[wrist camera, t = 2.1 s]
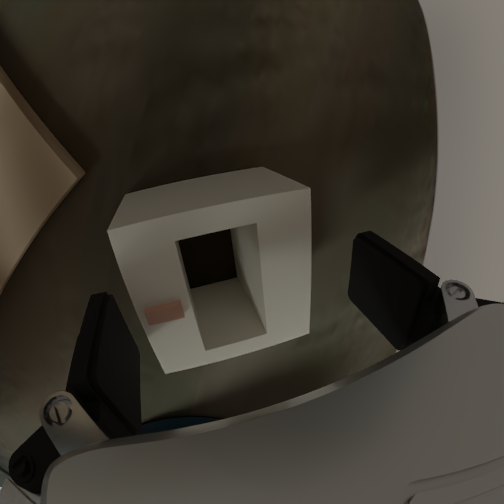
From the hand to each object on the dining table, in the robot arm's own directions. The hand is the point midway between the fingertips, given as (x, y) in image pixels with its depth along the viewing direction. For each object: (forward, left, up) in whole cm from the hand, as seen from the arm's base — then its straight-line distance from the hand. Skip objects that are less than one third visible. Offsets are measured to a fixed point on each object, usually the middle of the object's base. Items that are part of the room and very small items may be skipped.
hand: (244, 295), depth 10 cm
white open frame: (-1, 0, -6) cm, 6 cm away
